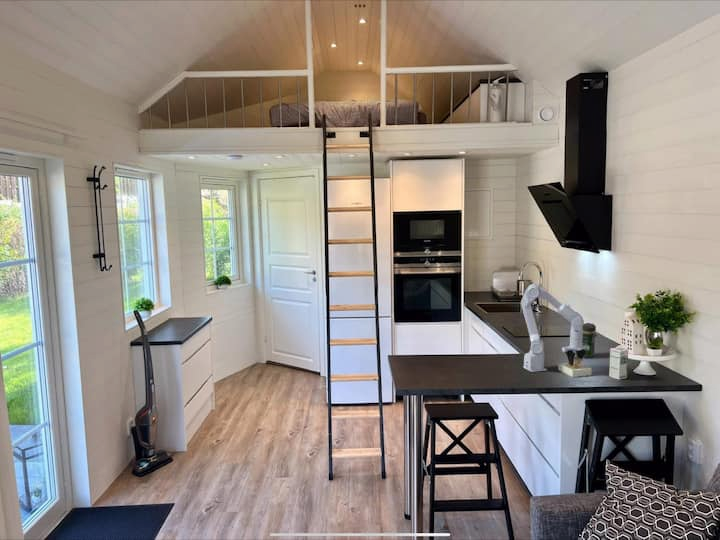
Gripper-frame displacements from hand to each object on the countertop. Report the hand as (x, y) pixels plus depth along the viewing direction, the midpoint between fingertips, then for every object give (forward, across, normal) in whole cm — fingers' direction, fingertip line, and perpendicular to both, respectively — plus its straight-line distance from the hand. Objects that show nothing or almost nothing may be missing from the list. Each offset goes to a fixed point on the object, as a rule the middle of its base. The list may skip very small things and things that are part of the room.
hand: (574, 364), depth 253 cm
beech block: (+2, 0, 0) cm, 2 cm away
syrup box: (+5, +16, -12) cm, 20 cm away
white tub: (+4, 0, 0) cm, 4 cm away
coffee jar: (+5, +25, +22) cm, 34 cm away
